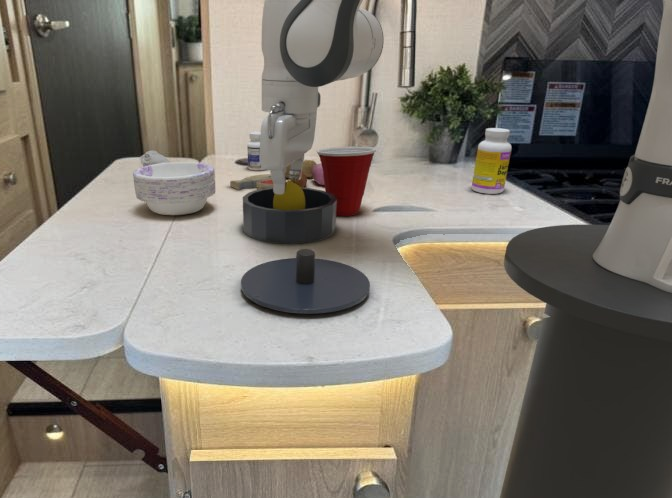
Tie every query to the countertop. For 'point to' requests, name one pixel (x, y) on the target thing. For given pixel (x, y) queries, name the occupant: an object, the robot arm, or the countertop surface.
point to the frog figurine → (152, 158)
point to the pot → (289, 217)
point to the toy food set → (266, 181)
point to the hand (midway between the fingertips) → (287, 186)
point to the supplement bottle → (492, 162)
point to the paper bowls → (175, 186)
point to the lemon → (290, 198)
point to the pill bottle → (254, 151)
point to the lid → (305, 284)
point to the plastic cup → (346, 175)
